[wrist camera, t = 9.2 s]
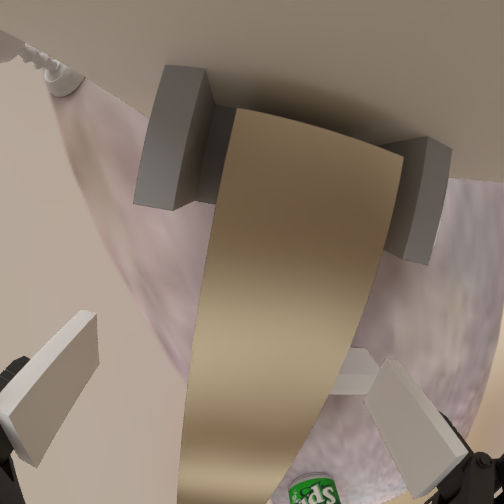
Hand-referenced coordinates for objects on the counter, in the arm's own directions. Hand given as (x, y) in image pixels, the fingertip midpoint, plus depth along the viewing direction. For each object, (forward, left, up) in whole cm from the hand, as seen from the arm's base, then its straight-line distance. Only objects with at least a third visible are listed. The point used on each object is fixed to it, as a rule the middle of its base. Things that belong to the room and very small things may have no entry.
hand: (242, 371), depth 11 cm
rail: (0, 0, 0) cm, 0 cm away
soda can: (+34, +18, -14) cm, 41 cm away
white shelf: (-1, 0, -14) cm, 14 cm away
